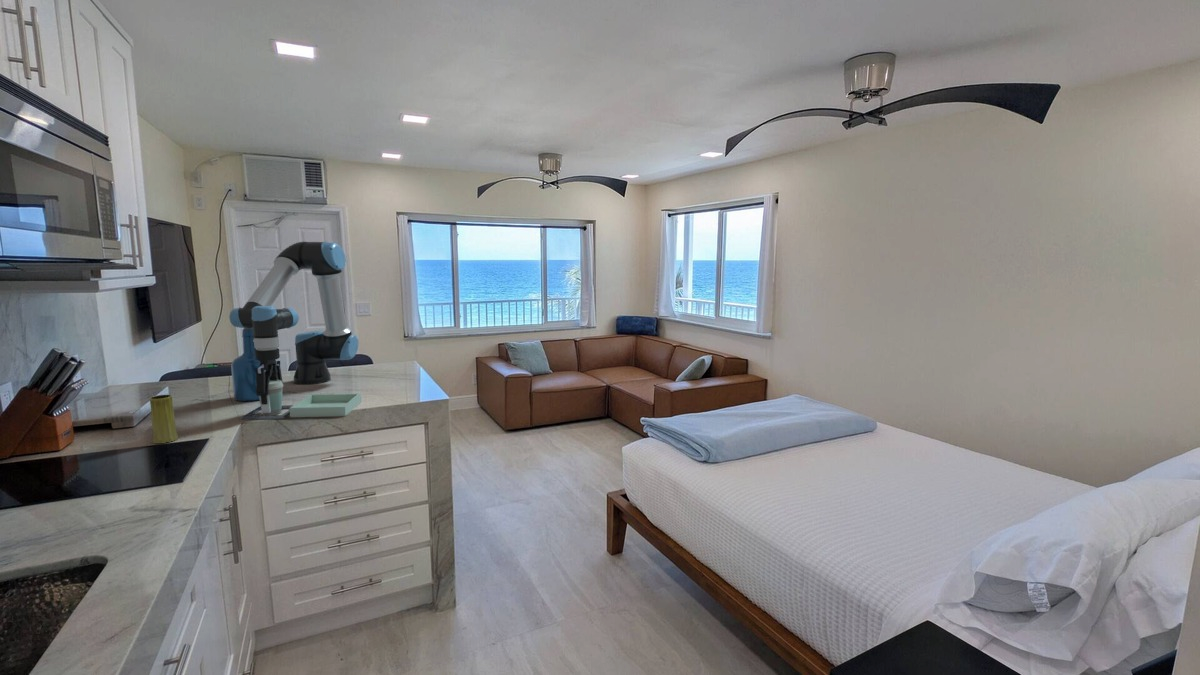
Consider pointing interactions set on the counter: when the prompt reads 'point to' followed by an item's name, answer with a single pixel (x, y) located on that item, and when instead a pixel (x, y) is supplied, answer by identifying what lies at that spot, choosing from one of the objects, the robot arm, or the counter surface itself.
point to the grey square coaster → (249, 415)
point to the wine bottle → (245, 369)
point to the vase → (163, 419)
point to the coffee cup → (275, 396)
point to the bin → (325, 405)
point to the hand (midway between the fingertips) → (271, 409)
